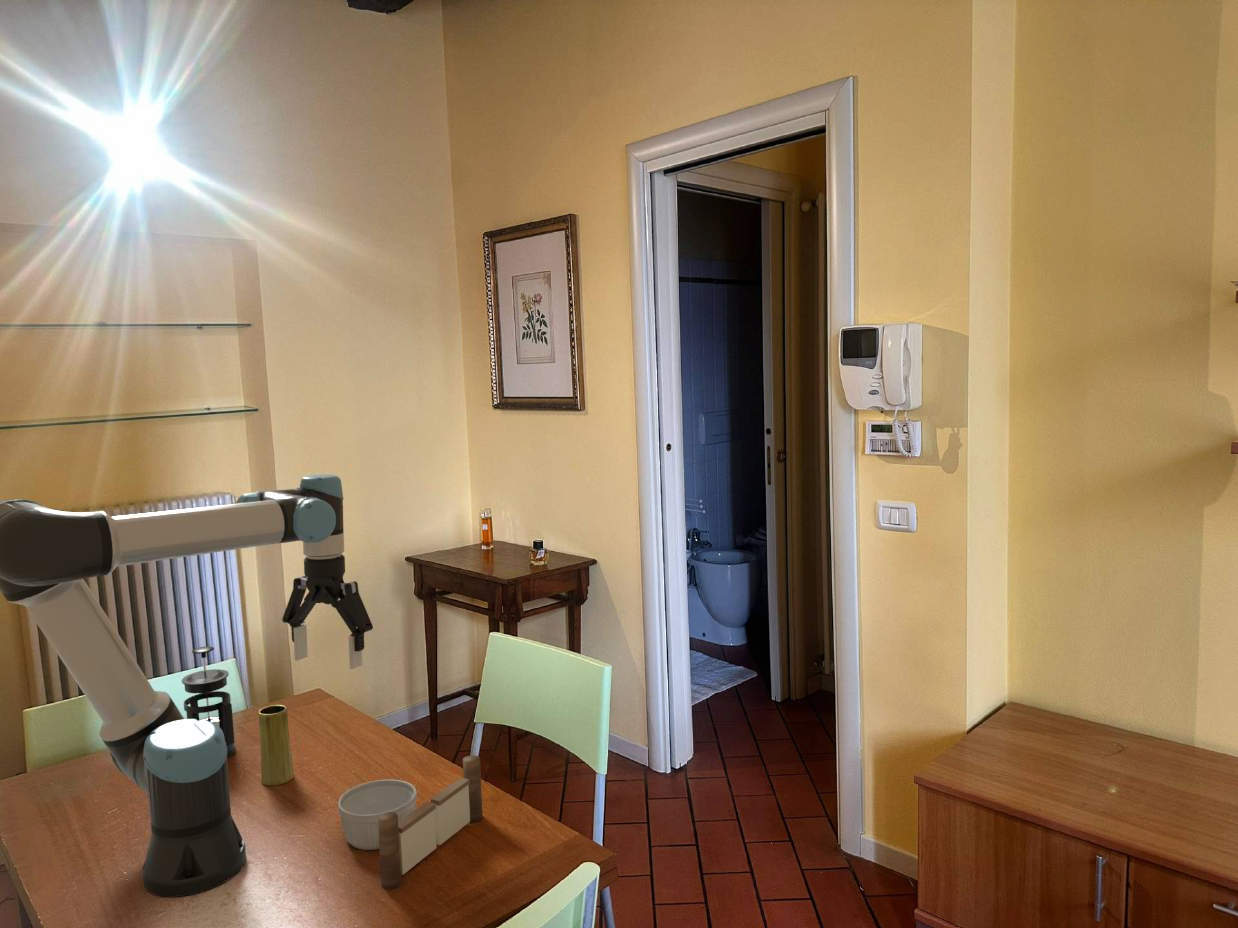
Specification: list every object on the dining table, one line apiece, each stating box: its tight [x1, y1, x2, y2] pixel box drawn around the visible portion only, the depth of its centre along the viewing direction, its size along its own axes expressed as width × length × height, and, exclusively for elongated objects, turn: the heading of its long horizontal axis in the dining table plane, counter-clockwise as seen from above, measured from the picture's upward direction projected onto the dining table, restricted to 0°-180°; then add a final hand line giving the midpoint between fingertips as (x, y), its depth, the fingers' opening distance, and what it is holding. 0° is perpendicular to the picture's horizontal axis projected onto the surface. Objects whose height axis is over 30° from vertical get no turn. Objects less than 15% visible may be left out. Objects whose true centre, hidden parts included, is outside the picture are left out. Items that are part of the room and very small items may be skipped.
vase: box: [258, 704, 295, 787], centre depth 176 cm, size 6×6×14 cm
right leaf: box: [430, 777, 471, 846], centre depth 153 cm, size 8×2×8 cm, turn 154°
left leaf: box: [398, 801, 437, 876], centre depth 145 cm, size 8×2×8 cm, turn 154°
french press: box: [181, 646, 236, 758], centre depth 188 cm, size 12×9×23 cm
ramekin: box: [337, 778, 418, 851], centre depth 154 cm, size 13×13×7 cm
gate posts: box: [378, 754, 484, 890], centre depth 149 cm, size 25×3×11 cm, turn 154°
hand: (328, 662), depth 174 cm, fingers open, 13 cm apart
